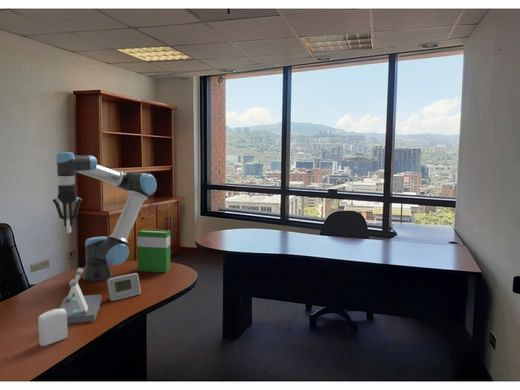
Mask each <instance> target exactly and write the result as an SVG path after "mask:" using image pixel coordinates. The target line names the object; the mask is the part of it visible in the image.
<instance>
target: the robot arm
mask: <svg viewBox="0 0 520 390" xmlns="http://www.w3.org/2000/svg"><path fill="white" fill-rule="evenodd" d="M56 171H57V185H58V186H57V189H58V190H57V192H58V194H57V197H55V198H53V199H52V203H54V205H55V208H56V210H57V213H58V214H57V215H58V217H59V219H62V220H63V225H64V227H66V233H67V234H70V233H72V227H73V225H74V219H76V218H77V217H78V212H79V209H80V204H81V201H82V200H83V199H82V198H81V197H78V195H77V193H76V184H75V183H76V174H75V173H78V174H82V175H84V176H87V177H91V178H94V179H97V180H100V181H103V182H106V183H109V184H111V185H112V186H113V187H115V188H118V189H121V190H124V191H127V194H128V198H127V199H126V201H125V204H124V206H123V208H122V211H121V213H120V216H119V218H118V219H117V222H116V224H115V227H114V229H113V232H112V234H110V235H107V236H93V237H89V238H86V239H85V242H84V243H85V244H84V245H85V246H84V248H85V249H84V250H85V267H84V271H83V273H82V280H84V281H85V282H92V283H93V282H94V283H96V282H102V281H107V279H109V278H113V277H112V275H113V274H112V271H111V266H110V265H114V266H118V265H121V264H123V263H125V262H126V261H127V260H128V257H129V255H130V249H129V247H128V246H129V240H128V239H129V236H130V234H131V232H132V229H133V227H134V225H135V223H136V220H137V218H138V215H139V213H140V211H141V208H142V206H143V204H144V202H145V201H146V200H148V199H149V196H150V195H153V194H155V192H156V190H157V186H158V185H157V180H156V178H155V177H154V175H152V174H150V173H146V172H145V173H144V172H141V173H140V172H131V171H129V172H128V171H123V170H114V169H112V168H108V167H106V166H102V165H100V164H98V159H97V158H96V157H95V156H94V155H76V154H75V155H74V152H70V151H67V152H65V151H61V152H60V151H59V152H58V153H56ZM75 201H76V204H75V208H73V203H74V202H75ZM60 202H61V203H62V208H61V206H60ZM62 209H63V211H62ZM73 210H74V211H73ZM68 215H69V218H68Z"/></svg>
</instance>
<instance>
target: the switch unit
mask: <svg viewBox="0 0 520 390" xmlns="http://www.w3.org/2000/svg"><path fill="white" fill-rule="evenodd" d="M67 297H68V296H65V297H64V299H63V301H62V302H61V303H60V306H59V307H58V309H65V310H66V313H67V324H77V323H91V322H93V323H94V322H95V321H96V318H97V315H98V312H99V309H100V307H101V304H102V301H103V300H102V294H93V295H92V294H90V295H83V297H84V299H85V301H86V304H87V306H88V310H87V312H86V313H85V314H83V313H82V311H81V309H80V306H79V304H78V302H77V299H76V297H75V295H72V298H71V300H70V301H69V302H68V301H66V299H67Z"/></svg>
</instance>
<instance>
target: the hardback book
mask: <svg viewBox="0 0 520 390" xmlns="http://www.w3.org/2000/svg"><path fill="white" fill-rule="evenodd" d="M136 232H137V236H136V237H137V238H136V239H137V241H136V243H137V271H138V272H150V273H151V272H153V273H168V272H169V271H170V270H171V229H168V230H167V229H152V228H151V229H148V228H147V229H145V228H142V229H141V230H139V231H136Z"/></svg>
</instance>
